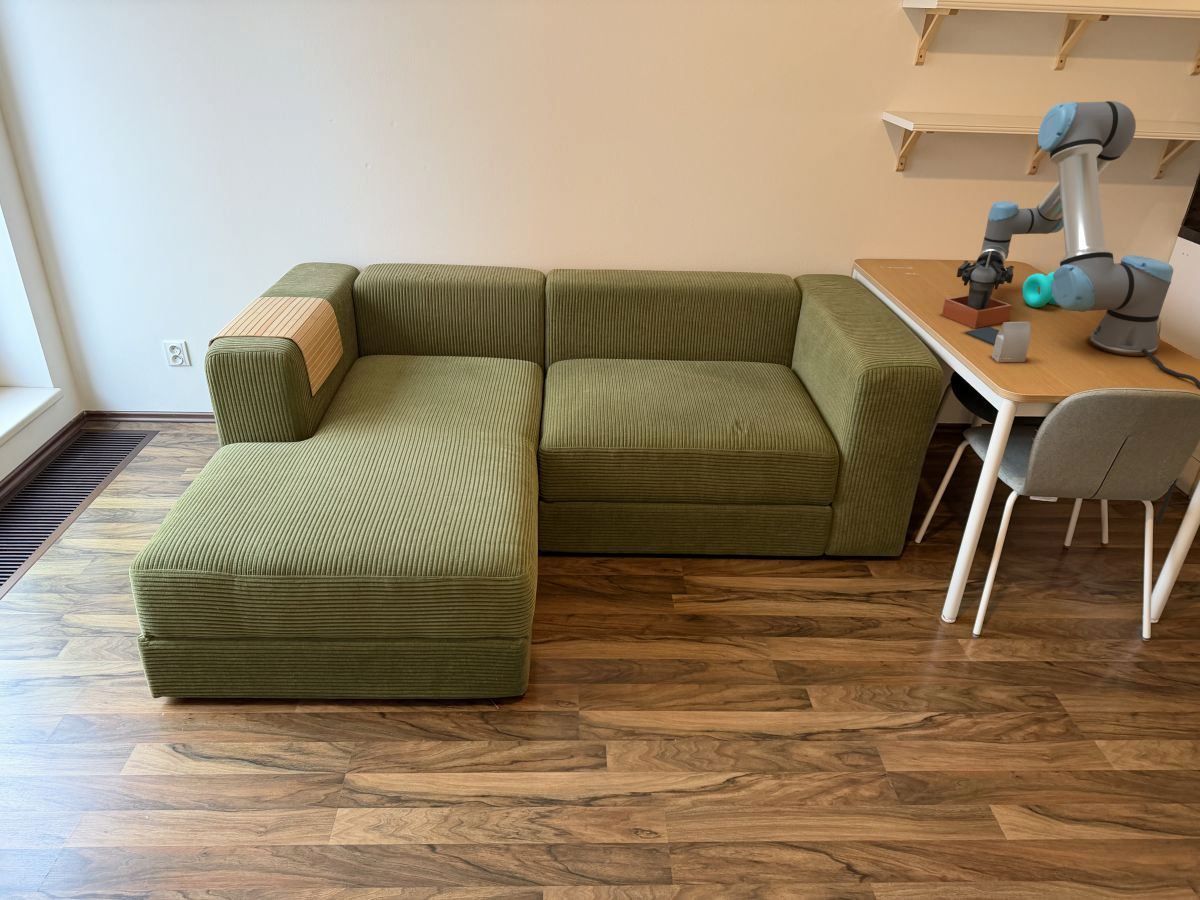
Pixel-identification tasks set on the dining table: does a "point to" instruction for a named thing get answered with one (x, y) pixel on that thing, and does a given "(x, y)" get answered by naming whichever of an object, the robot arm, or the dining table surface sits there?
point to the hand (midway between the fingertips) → (981, 282)
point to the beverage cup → (981, 286)
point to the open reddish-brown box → (976, 312)
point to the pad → (985, 334)
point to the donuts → (1032, 293)
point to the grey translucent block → (1012, 342)
